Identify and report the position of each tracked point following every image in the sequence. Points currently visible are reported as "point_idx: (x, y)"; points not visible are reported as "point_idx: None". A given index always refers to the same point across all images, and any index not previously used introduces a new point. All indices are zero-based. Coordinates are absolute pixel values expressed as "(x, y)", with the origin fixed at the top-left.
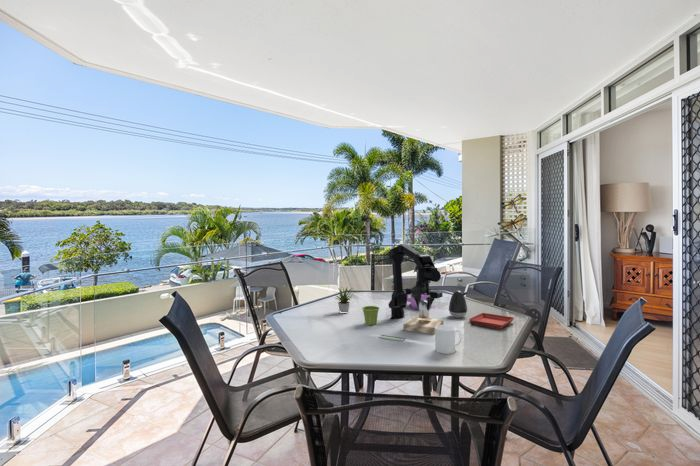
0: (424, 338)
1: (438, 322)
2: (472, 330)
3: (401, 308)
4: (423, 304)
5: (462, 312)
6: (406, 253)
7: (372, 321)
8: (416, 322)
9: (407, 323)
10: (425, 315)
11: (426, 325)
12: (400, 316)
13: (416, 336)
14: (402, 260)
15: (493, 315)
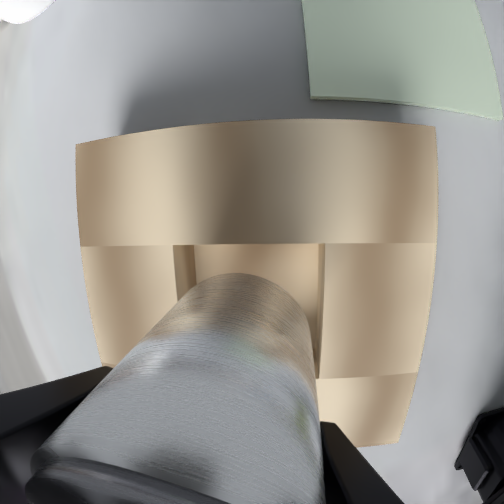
0: (170, 58)
1: (112, 348)
2: (18, 373)
3: (500, 483)
4: (102, 413)
5: None
6: None
7: None
8: (324, 264)
9: (403, 162)
10: (177, 304)
11: (166, 185)
12: (486, 439)
13: (247, 67)
14: None
15: None
